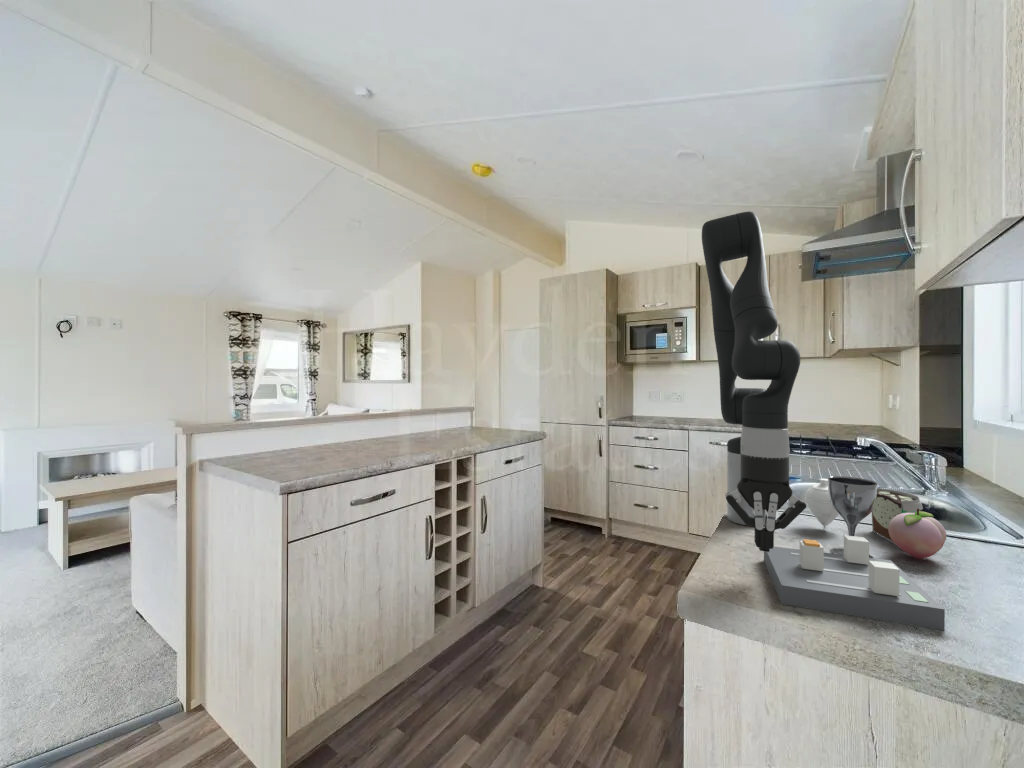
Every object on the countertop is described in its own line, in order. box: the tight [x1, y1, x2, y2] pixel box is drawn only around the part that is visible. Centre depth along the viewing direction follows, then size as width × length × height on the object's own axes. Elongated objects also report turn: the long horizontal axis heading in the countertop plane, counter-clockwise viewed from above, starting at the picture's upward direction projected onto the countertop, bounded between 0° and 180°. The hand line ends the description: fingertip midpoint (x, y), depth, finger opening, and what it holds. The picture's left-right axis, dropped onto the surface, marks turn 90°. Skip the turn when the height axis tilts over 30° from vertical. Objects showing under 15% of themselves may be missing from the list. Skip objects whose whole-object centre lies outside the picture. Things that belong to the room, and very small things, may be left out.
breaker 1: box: [843, 534, 870, 565], centre depth 79 cm, size 2×3×4 cm
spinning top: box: [804, 478, 840, 530], centre depth 104 cm, size 8×8×12 cm
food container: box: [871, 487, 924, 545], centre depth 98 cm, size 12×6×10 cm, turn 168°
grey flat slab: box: [763, 546, 946, 631], centre depth 75 cm, size 18×20×3 cm
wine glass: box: [827, 475, 878, 559], centre depth 90 cm, size 8×8×15 cm
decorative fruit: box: [888, 509, 947, 560], centre depth 88 cm, size 9×8×10 cm
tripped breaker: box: [799, 538, 825, 571], centre depth 76 cm, size 2×3×4 cm
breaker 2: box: [869, 561, 900, 596], centre depth 68 cm, size 2×3×4 cm
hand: (763, 549), depth 79 cm, fingers closed
